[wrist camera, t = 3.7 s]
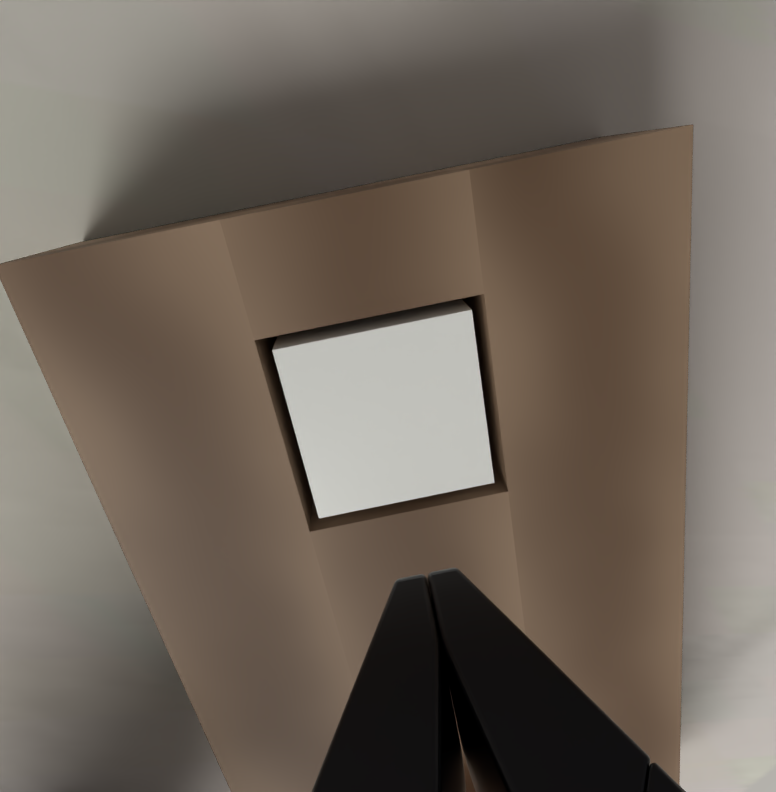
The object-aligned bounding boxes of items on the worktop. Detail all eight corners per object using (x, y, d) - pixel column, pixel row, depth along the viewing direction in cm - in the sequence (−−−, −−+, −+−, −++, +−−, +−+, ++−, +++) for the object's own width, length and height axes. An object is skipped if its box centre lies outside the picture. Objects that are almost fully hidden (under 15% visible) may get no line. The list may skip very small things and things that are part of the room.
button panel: (313, 843, 25) (308, 963, 21) (81, 241, 15) (-7, 265, 11) (626, 778, 25) (677, 886, 21) (604, 136, 15) (693, 124, 11)
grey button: (323, 452, 17) (318, 518, 14) (286, 312, 15) (272, 350, 12) (464, 423, 17) (494, 483, 14) (443, 280, 15) (471, 309, 12)
